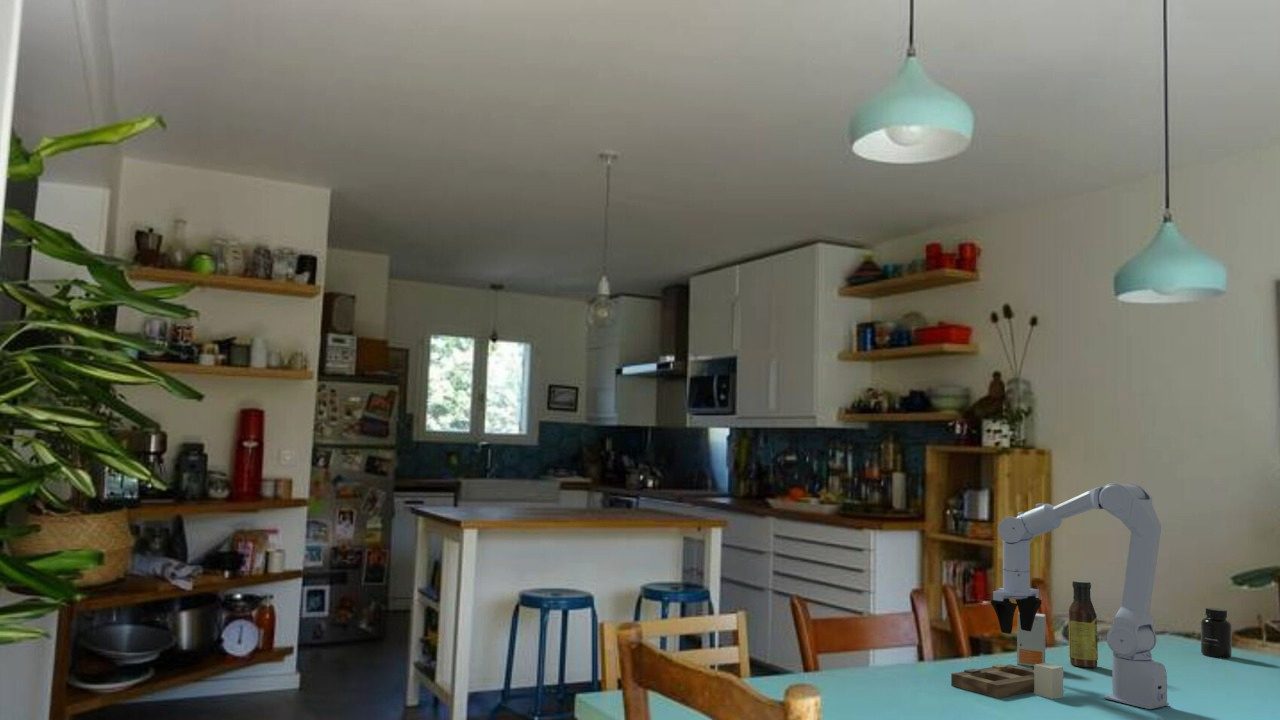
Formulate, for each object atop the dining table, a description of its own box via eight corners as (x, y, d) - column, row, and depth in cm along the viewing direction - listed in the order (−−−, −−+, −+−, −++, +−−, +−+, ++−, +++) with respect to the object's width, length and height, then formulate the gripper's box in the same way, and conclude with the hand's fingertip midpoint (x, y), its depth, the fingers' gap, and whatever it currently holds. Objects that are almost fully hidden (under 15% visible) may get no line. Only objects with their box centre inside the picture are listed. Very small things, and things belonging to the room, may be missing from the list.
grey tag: (980, 672, 199) (980, 670, 199) (971, 673, 197) (971, 671, 197) (973, 670, 201) (973, 668, 201) (964, 672, 199) (964, 670, 199)
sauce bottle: (1102, 669, 220) (1102, 583, 222) (1076, 668, 220) (1075, 582, 222) (1090, 663, 226) (1089, 580, 228) (1064, 662, 226) (1063, 579, 228)
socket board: (1055, 686, 200) (1055, 674, 200) (997, 698, 188) (997, 685, 188) (1009, 675, 209) (1009, 664, 209) (951, 685, 197) (951, 673, 197)
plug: (1063, 696, 191) (1063, 666, 192) (1052, 699, 189) (1052, 668, 190) (1045, 692, 195) (1045, 662, 195) (1034, 694, 192) (1034, 664, 193)
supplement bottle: (1205, 657, 241) (1204, 609, 242) (1198, 652, 247) (1197, 606, 248) (1235, 659, 239) (1234, 612, 240) (1227, 654, 245) (1226, 608, 246)
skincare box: (1016, 664, 221) (1016, 613, 222) (1018, 661, 224) (1018, 611, 226) (1044, 668, 218) (1044, 616, 219) (1045, 665, 222) (1045, 614, 223)
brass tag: (1008, 667, 205) (1008, 666, 205) (999, 669, 203) (999, 667, 203) (1000, 666, 206) (1000, 664, 206) (992, 667, 205) (992, 665, 205)
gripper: (1019, 567, 219) (1019, 626, 217) (981, 569, 210) (981, 630, 209) (1047, 571, 213) (1047, 631, 211) (1009, 573, 205) (1009, 636, 203)
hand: (1016, 631), depth 210 cm, fingers open, 7 cm apart
